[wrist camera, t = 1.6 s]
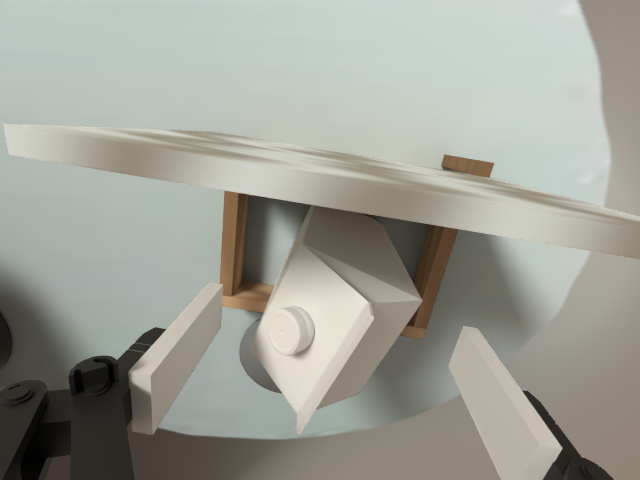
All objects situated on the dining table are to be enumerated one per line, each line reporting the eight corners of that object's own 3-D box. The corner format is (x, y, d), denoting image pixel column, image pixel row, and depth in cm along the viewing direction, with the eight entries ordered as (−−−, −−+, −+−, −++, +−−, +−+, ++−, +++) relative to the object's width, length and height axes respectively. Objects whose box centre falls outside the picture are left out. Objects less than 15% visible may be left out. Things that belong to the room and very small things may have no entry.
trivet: (237, 382, 37) (236, 385, 37) (244, 305, 34) (242, 308, 33) (325, 396, 37) (325, 400, 37) (341, 321, 34) (341, 324, 33)
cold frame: (230, 288, 33) (72, 515, 13) (241, 121, 28) (-5, 81, 8) (414, 318, 33) (529, 589, 13) (462, 157, 28) (787, 213, 8)
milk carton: (382, 222, 30) (451, 352, 12) (349, 280, 32) (364, 463, 14) (317, 191, 29) (288, 278, 11) (288, 252, 31) (223, 406, 14)
